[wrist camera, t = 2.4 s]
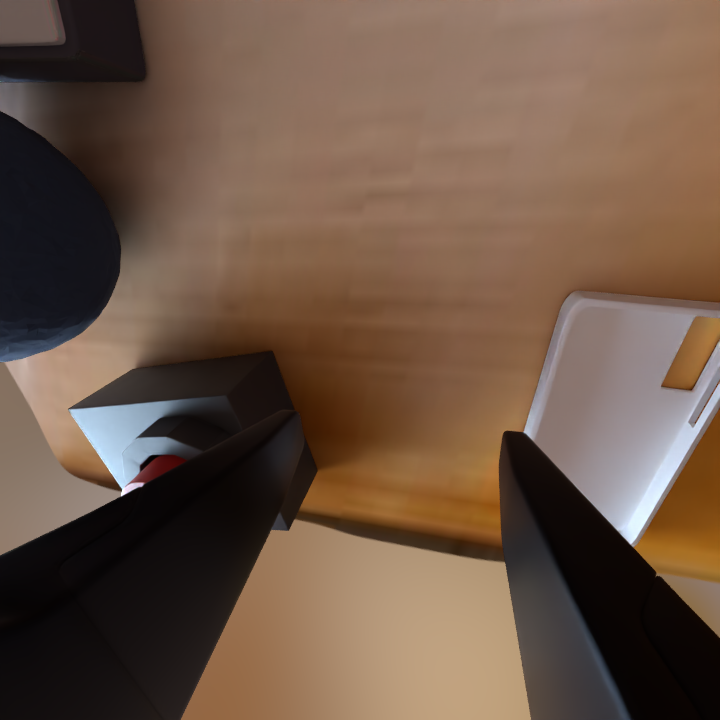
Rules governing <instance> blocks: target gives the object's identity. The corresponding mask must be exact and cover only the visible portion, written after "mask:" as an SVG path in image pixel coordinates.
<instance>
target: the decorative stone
mask: <svg viewBox="0 0 720 720" xmlns="http://www.w3.org/2000/svg"><path fill="white" fill-rule="evenodd" d="M120 258H121V246H120V241H119V235H118V233H117V230H116V228H115V226H114V222H113V220H112V218H111V215H110V213H109V210H108V209H107V207H106V205H105V203H104V201H103V200H102V198H101V197H100V195H99V194H98V192H97V191H96V190H95V188H94V187H93V186H92V184H91V183H90V182H89V181H88V179H87V178H86V177H85V175H84V174H83V173H82V172H81V171H80V170H79V169H78V168H77V167H76V166H75V164H73V163H72V162H71V161H70V160H69V159H68V158H67V157H65V156H64V155H63V154H62V153H61V152H60V151H59V150H57V149H56V148H55V147H54V146H53V145H52V144H51V143H49V142H48V141H47V140H46V139H45V138H44V137H42V136H41V135H39V134H38V133H36V132H35V131H33V130H31V129H29V128H27V127H26V126H25V125H23V124H22V123H20V122H19V121H18V120H16V119H14V118H12V117H11V116H9V115H7V114H5V113H3V112H1V111H0V362H8V361H13V360H17V359H23V358H26V357H29V356H32V355H34V354H37V353H40V352H44V351H48V350H51V349H53V348H55V347H57V346H59V345H61V344H63V343H65V342H67V341H69V340H71V339H72V338H74V337H76V336H77V335H79V334H80V333H82V332H83V331H84V330H85V329H86V328H87V327H88V326H90V325H91V324H92V323H93V322H94V321H95V320H96V319H97V317H98V316H99V315H100V313H101V312H102V310H103V309H104V308H105V307H106V305H107V303H108V301H109V299H110V297H111V295H112V293H113V290H114V288H115V285H116V282H117V279H118V277H119V273H120Z"/></svg>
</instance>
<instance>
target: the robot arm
mask: <svg viewBox="0 0 720 720" xmlns="http://www.w3.org/2000/svg"><path fill="white" fill-rule="evenodd" d="M303 446H304V434H303V428H302V423H301V417H300V414H299V412H297V411H294V410H280V411H278V412H276V413H274V414H273V415H271V416H269V417H267V418H265V419H263V420H262V421H260V422H258V423H256V424H254V425H252V426H250V427H249V428H247V429H245V430H243V431H241V432H239V433H237V434H236V435H234V436H232V437H230V438H228V439H226V440H225V441H223V442H221V443H219V444H217V445H215V446H213V447H212V448H210V449H208V450H206V451H204V452H202V453H200V454H199V455H197V456H195V457H193V458H191V459H189V460H187V461H186V462H184V463H182V464H180V465H178V466H176V467H175V468H173V469H171V470H169V471H167V472H165V473H163V474H162V475H160V476H158V477H156V478H154V479H152V480H150V481H149V482H147V483H145V484H143V486H142V487H137V488H135V489H134V490H132V491H130V492H128V493H126V494H125V495H123V496H121V497H119V498H117V499H115V500H113V501H111V502H109V503H107V504H105V505H104V506H102V507H100V508H98V509H96V510H94V511H92V512H90V513H88V514H86V515H84V516H82V517H80V518H78V519H76V520H74V521H71V522H69V523H67V524H65V525H63V526H61V527H59V528H57V529H55V530H53V531H51V532H49V533H46V534H44V535H42V536H40V537H38V538H36V539H34V540H32V541H30V542H27V543H26V544H23V545H21V546H19V547H17V548H15V549H13V550H11V551H8V552H6V553H4V554H2V555H0V720H181V718H182V715H183V713H184V711H185V709H186V707H187V705H188V703H189V701H190V698H191V697H192V694H193V692H194V690H195V688H196V686H197V684H198V682H199V680H200V678H201V676H202V673H203V672H204V669H205V667H206V665H207V663H208V661H209V659H210V657H211V655H212V653H213V651H214V648H215V646H216V644H217V642H218V640H219V638H220V636H221V634H222V632H223V629H224V628H225V625H226V623H227V621H228V619H229V617H230V615H231V613H232V611H233V609H234V607H235V604H236V602H237V600H238V598H239V596H240V594H241V592H242V590H243V588H244V586H245V583H246V581H247V579H248V577H249V575H250V573H251V571H252V569H253V567H254V565H255V563H256V560H257V558H258V556H259V554H260V552H261V550H262V548H263V546H264V544H265V542H266V539H267V537H268V535H269V533H270V531H271V529H272V527H273V525H274V523H275V521H276V519H277V516H278V514H279V512H280V510H281V508H282V505H283V503H284V501H285V498H286V495H287V493H288V490H289V487H290V484H291V481H292V478H293V475H294V473H295V470H296V467H297V464H298V461H299V458H300V455H301V453H302V450H303ZM499 488H500V514H501V534H502V544H503V551H504V558H505V564H506V570H507V576H508V581H509V588H510V594H511V600H512V606H513V612H514V618H515V624H516V630H517V636H518V642H519V649H520V655H521V660H522V667H523V673H524V679H525V684H526V691H527V697H528V703H529V709H530V715H531V720H720V638H719V637H718V636H717V635H716V634H715V632H714V631H713V630H711V628H710V627H709V626H708V625H707V624H706V623H705V622H704V621H703V620H702V619H701V618H700V617H699V616H698V615H697V614H696V613H695V612H694V611H693V610H692V609H691V608H690V607H689V606H688V605H687V604H686V603H685V602H684V601H683V600H682V599H681V598H680V597H679V595H678V594H677V593H676V592H675V591H674V590H673V589H672V588H671V587H670V586H669V585H668V584H667V583H666V582H665V581H664V580H663V578H662V577H660V576H656V571H655V570H654V569H653V568H652V567H651V566H650V565H649V564H648V563H647V562H646V561H645V560H644V559H643V557H642V556H641V555H640V554H639V553H638V552H637V551H636V550H635V549H634V548H633V547H632V546H631V545H630V544H629V543H628V541H627V540H626V539H625V538H624V537H623V536H622V535H621V534H620V533H619V532H618V531H617V530H616V529H615V528H614V527H613V526H612V524H611V523H610V522H609V521H608V520H607V519H606V518H605V517H604V516H603V515H602V514H601V513H600V512H599V511H598V510H597V509H596V507H595V506H594V505H593V504H592V503H591V502H590V501H589V500H588V499H587V498H586V497H585V496H584V495H583V494H582V493H581V491H580V490H579V489H578V488H577V487H576V486H575V485H574V484H573V483H572V482H571V481H570V480H569V479H568V478H567V477H566V476H565V474H564V473H563V472H562V471H561V470H560V469H559V468H558V467H557V466H556V465H555V464H554V463H553V462H552V461H551V460H550V458H549V457H548V456H547V455H546V454H545V453H544V452H543V451H542V450H541V449H540V448H539V447H538V446H537V445H536V444H535V443H534V441H533V440H532V439H531V438H530V437H529V436H528V435H527V434H526V433H524V432H516V431H505V432H504V433H503V437H502V444H501V451H500V459H499ZM655 576H656V577H655Z"/></svg>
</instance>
